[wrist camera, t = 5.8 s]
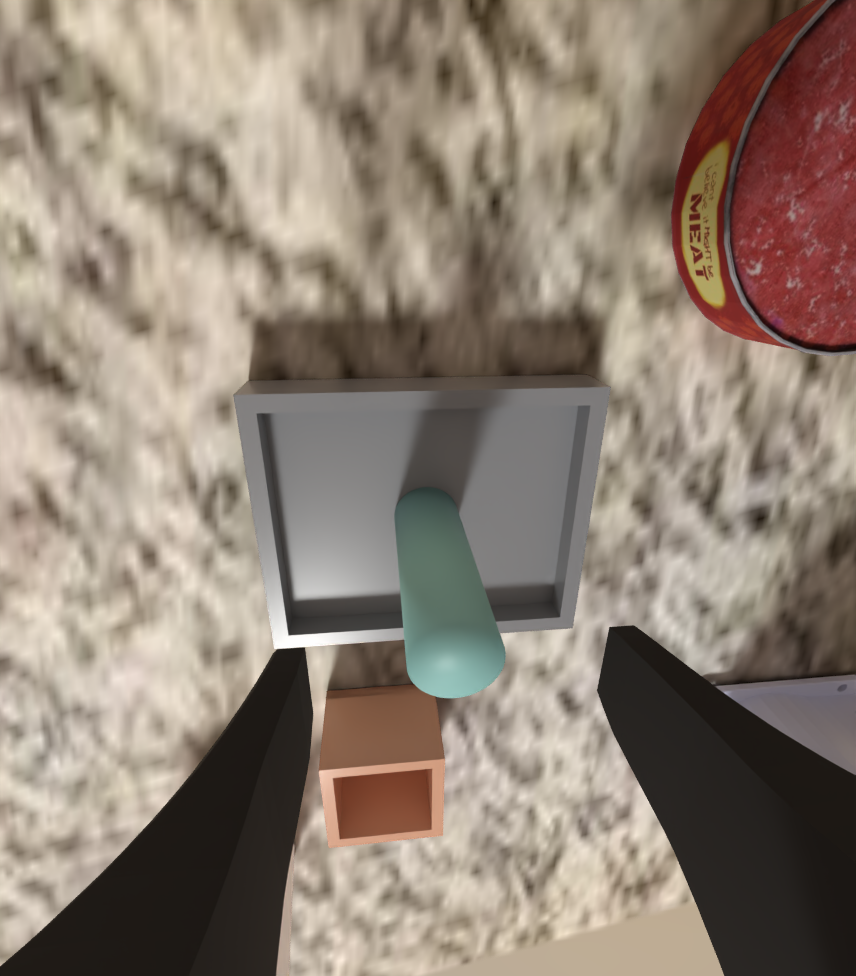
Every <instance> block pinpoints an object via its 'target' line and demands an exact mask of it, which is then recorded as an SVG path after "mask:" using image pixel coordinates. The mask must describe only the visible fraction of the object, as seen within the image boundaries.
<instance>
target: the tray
mask: <svg viewBox="0 0 856 976" xmlns="http://www.w3.org/2000/svg"><path fill="white" fill-rule="evenodd" d="M610 388H611V387H610V386H608V385H606V384H604V383H602V382H600V381H598V380H596V379H594V378H593V377H591V376H589V375H587V374H585V375H529V376H474V377H419V378H364V379H309V380H253V381H247V382H246V383H245V384H244V385H243V386H242V387H241V388H240V389H239V390H238V391H237V392H236V393H235V394H234V395H233V396H234V402H235V408H236V414H237V420H238V427H239V433H240V439H241V445H242V451H243V458H244V464H245V470H246V476H247V482H248V489H249V495H250V501H251V507H252V513H253V520H254V526H255V532H256V538H257V544H258V551H259V557H260V563H261V569H262V575H263V582H264V588H265V594H266V600H267V606H268V613H269V619H270V625H271V631H272V637H273V643H274V649H279V648H293V647H307V646H322V645H336V644H351V643H365V642H380V641H394V640H404V630H403V618H402V606H401V594H400V581H399V569H398V557H397V545H396V533H395V521H394V513H395V509H396V506H397V504H398V502H399V501H400V500H401V499H402V497H403V496H405V495H406V494H407V493H409V492H410V491H412V490H415V489H418V488H422V487H433V488H437V489H440V490H442V491H444V492H446V493H447V494H448V495H450V496H451V497H452V499H453V500H454V502H455V504H456V507H457V510H458V512H459V515H460V518H461V521H462V524H463V527H464V530H465V533H466V536H467V539H468V542H469V545H470V548H471V551H472V554H473V556H474V559H475V562H476V565H477V568H478V571H479V574H480V577H481V580H482V583H483V586H484V589H485V592H486V595H487V598H488V601H489V603H490V606H491V609H492V612H493V615H494V618H495V621H496V624H497V627H498V630H499V633H510V632H524V631H539V630H553V629H568V628H573V622H574V616H575V609H576V603H577V597H578V590H579V584H580V578H581V571H582V565H583V559H584V552H585V546H586V540H587V534H588V527H589V521H590V515H591V508H592V502H593V496H594V489H595V483H596V477H597V470H598V464H599V458H600V452H601V445H602V439H603V433H604V426H605V420H606V414H607V407H608V401H609V395H610Z"/></svg>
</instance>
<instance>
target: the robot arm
mask: <svg viewBox="0 0 856 976" xmlns="http://www.w3.org/2000/svg"><path fill="white" fill-rule="evenodd" d="M597 692H598V694H599V697H600V700H601V703H602V705H603V708H604V711H605V714H606V716H607V719H608V721H609V724H610V726H611V729H612V731H613V734H614V736H615V738H616V740H617V742H618V743H619V745H620V747H621V749H622V751H623V753H624V755H625V757H626V759H627V761H628V763H629V765H630V767H631V769H632V771H633V772H634V774H635V776H636V778H637V780H638V782H639V784H640V786H641V788H642V790H643V791H644V793H645V795H646V797H647V799H648V801H649V803H650V805H651V807H652V809H653V810H654V812H655V814H656V816H657V818H658V820H659V822H660V824H661V826H662V828H663V829H664V831H665V834H666V836H667V838H668V840H669V842H670V844H671V846H672V848H673V850H674V852H675V854H676V857H677V859H678V862H679V864H680V866H681V869H682V871H683V873H684V876H685V878H686V881H687V883H688V885H689V888H690V890H691V892H692V895H693V897H694V900H695V902H696V904H697V907H698V909H699V912H700V914H701V917H702V920H703V922H704V925H705V927H706V930H707V932H708V935H709V937H710V940H711V942H712V945H713V947H714V950H715V952H716V955H717V957H718V960H719V963H720V965H721V968H722V970H723V973H724V976H856V674H855V675H843V676H831V677H819V678H807V679H795V680H783V681H771V682H759V683H747V684H735V685H723V686H714V685H712V684H711V683H710V682H708V681H707V680H706V679H704V678H703V677H702V676H700V675H699V674H698V673H696V672H695V671H694V670H692V669H691V668H690V667H688V666H687V665H686V664H684V663H683V662H682V661H680V660H679V659H678V658H676V657H675V656H674V655H673V654H671V653H670V652H669V651H667V650H666V649H665V648H663V647H662V646H661V645H660V644H658V643H657V642H656V641H654V640H653V639H652V638H650V637H649V636H648V635H646V634H645V633H644V632H642V631H641V630H639V629H638V628H637V627H635V626H619V627H609V632H608V638H607V643H606V648H605V653H604V658H603V663H602V668H601V673H600V678H599V684H598V689H597ZM312 722H313V707H312V700H311V692H310V684H309V676H308V668H307V660H306V652H305V648H290V649H277V650H276V651H275V652H274V653H273V655H272V656H271V658H270V660H269V662H268V664H267V665H266V667H265V669H264V670H263V672H262V674H261V675H260V677H259V679H258V680H257V682H256V684H255V685H254V687H253V688H252V690H251V691H250V693H249V695H248V696H247V698H246V699H245V701H244V702H243V704H242V705H241V707H240V708H239V710H238V711H237V713H236V714H235V715H234V717H233V718H232V720H231V721H230V723H229V724H228V726H227V727H226V729H225V730H224V731H223V733H222V734H221V736H220V737H219V738H218V740H217V741H216V742H215V744H214V745H213V746H212V748H211V749H210V750H209V752H208V753H207V754H206V756H205V757H204V758H203V759H202V761H201V762H200V763H199V765H198V766H197V767H196V769H195V770H194V771H193V773H192V774H191V775H190V776H189V777H188V779H187V780H186V781H185V782H184V784H183V785H182V786H181V787H180V788H179V790H178V791H177V792H176V793H175V794H174V796H173V797H172V798H171V799H170V800H169V801H168V803H167V804H166V805H165V806H164V807H163V808H162V809H161V811H160V812H159V813H158V814H157V815H156V816H155V817H154V819H153V820H152V821H151V822H150V823H149V824H148V825H147V826H146V827H145V828H144V829H143V830H142V832H141V833H140V834H139V835H138V836H137V837H136V838H135V839H134V840H133V841H132V842H131V843H130V844H129V845H128V847H127V848H126V849H125V850H124V851H123V852H122V853H121V854H120V855H119V856H118V857H117V858H116V859H115V860H114V861H113V862H112V863H111V864H110V865H109V866H108V867H107V868H106V869H105V870H104V871H103V872H102V873H101V874H100V875H99V876H98V877H97V878H96V879H95V880H94V881H93V882H92V883H91V884H90V885H89V886H88V887H87V888H86V889H85V890H84V891H82V892H81V893H80V894H79V895H78V896H77V897H76V898H75V899H74V900H73V901H72V902H71V903H70V904H69V905H68V906H67V907H66V908H65V909H64V910H62V911H61V912H60V913H59V914H58V915H57V916H56V917H55V918H54V919H53V920H52V921H51V922H50V923H49V924H48V925H47V926H46V927H45V928H43V929H42V930H41V931H40V932H39V933H38V934H37V935H36V936H35V937H33V938H32V939H31V940H30V941H29V942H28V943H27V944H26V945H25V946H23V947H22V948H21V949H20V950H19V951H18V952H16V953H15V954H14V955H13V956H12V957H11V958H9V959H8V960H7V961H6V962H5V963H4V964H2V965H1V966H0V976H276V971H277V961H278V951H279V942H280V933H281V923H282V914H283V905H284V896H285V889H286V883H287V876H288V870H289V865H290V859H291V854H292V849H293V844H294V838H295V833H296V828H297V823H298V817H299V812H300V807H301V802H302V796H303V791H304V786H305V780H306V775H307V770H308V764H309V758H310V747H311V735H312Z"/></svg>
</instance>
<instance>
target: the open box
mask: <svg viewBox="0 0 856 976" xmlns="http://www.w3.org/2000/svg"><path fill="white" fill-rule="evenodd" d="M444 771H445V757H444V750H443V743H442V737H441V730H440V723H439V716H438V710H437V703H436V696H432V695H430V694H427V693H425V692H423V691H422V690H420V689H419V688H418V687H416V685H415V684H409V685H396V686H383V687H370V688H358V689H345V690H332V691H327V695H326V705H325V715H324V725H323V734H322V744H321V754H320V763H319V776H320V784H321V792H322V799H323V807H324V815H325V822H326V830H327V838H328V845H329V848H333V847H342V846H351V845H360V844H370V843H379V842H388V841H397V840H407V839H416V838H425V837H434V836H443V808H444Z"/></svg>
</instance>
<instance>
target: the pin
mask: <svg viewBox="0 0 856 976" xmlns="http://www.w3.org/2000/svg"><path fill="white" fill-rule="evenodd" d="M394 521H395V533H396V545H397V557H398V569H399V581H400V594H401V606H402V618H403V630H404V642H405V654H406V666H407V672H408V675H409V677H410V679H411V681H412V682H413V683H414V684H415V685H416V687H418V688H419V689H420V690H422V691H423V692H425V693H427V694H430V695H432V696H436V697H441V698H460V697H465V696H469V695H472V694H474V693H477V692H479V691H481V690H483V689H484V688H486V687H487V686H489V685H490V684H491V683H492V682H493V681H494V680H495V679H496V678H497V677H498V675H499V674H500V672H501V671H502V669H503V666H504V663H505V647H504V645H503V642H502V639H501V636H500V633H499V630H498V627H497V624H496V621H495V618H494V615H493V612H492V609H491V606H490V603H489V601H488V598H487V595H486V592H485V589H484V586H483V583H482V580H481V577H480V574H479V571H478V568H477V565H476V562H475V559H474V556H473V554H472V551H471V548H470V545H469V542H468V539H467V536H466V533H465V530H464V527H463V524H462V521H461V518H460V515H459V512H458V510H457V507H456V504H455V502H454V500H453V499H452V497H451V496H450V495H448V494H447V493H446V492H444V491H442V490H440V489H437V488H433V487H422V488H418V489H415V490H412V491H410V492H409V493H407V494H406V495H405V496H403V497H402V499H401V500H400V501H399V502H398V504H397V506H396V509H395V513H394Z"/></svg>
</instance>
